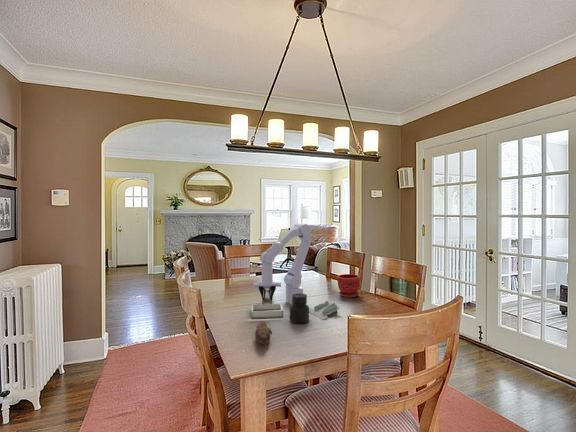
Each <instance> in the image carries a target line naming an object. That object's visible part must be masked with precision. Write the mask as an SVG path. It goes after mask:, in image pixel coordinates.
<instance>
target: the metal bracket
mask: <svg viewBox="0 0 576 432" xmlns="http://www.w3.org/2000/svg"><path fill="white" fill-rule="evenodd" d="M340 309H341V306H338V305H337V304H336V302H335V301H334V302H333V303H332V302H329V300H325V302H322V303H319V304H317V305H315V306H314V307H313V308H311V307H309V314H311V315H313V316H316V317H317V318H318V317H319V318H318V319H320V320H322V321H325V320H326V319H328V318H329V317H328V315H331V314H332V313H335V311H336V313H338V310H340Z"/></svg>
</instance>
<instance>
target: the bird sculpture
mask: <svg viewBox="0 0 576 432" xmlns="http://www.w3.org/2000/svg"><path fill="white" fill-rule="evenodd" d="M254 335H255V338H256V340H257V342H258V343H260V344H262V345H264V347H265V349H266V348H267V343H269V341H270V340H271V335H273V332H272V329H271V328H270V327H268V325H267V323H266V321H265V320H264V321H263V320H262V321H261V322H260V323H259V324H257V325H256V329H255V333H254Z"/></svg>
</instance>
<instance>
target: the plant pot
mask: <svg viewBox="0 0 576 432" xmlns="http://www.w3.org/2000/svg"><path fill="white" fill-rule="evenodd" d="M336 280H337V281H336V282H337V287H338V289H339V293H338V294H339V295H340V296H342V297H344V298H356V297H358V296H359V295H360V292H359V289H360V284H361V278H360V275H359V274H355V273H354V274H353V273H346V274H344V273H343V274H338V275H337V278H336Z"/></svg>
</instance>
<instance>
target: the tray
mask: <svg viewBox="0 0 576 432" xmlns="http://www.w3.org/2000/svg"><path fill="white" fill-rule="evenodd" d="M250 314H251V318H253V320H261V319H262V320H263V319H267V320H268V319H271V317H281V319H284V308H283V304H282V303H280V302H279V303H278V302H276V303H275V302H274V304H260V303H252V304H251V313H250Z"/></svg>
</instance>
